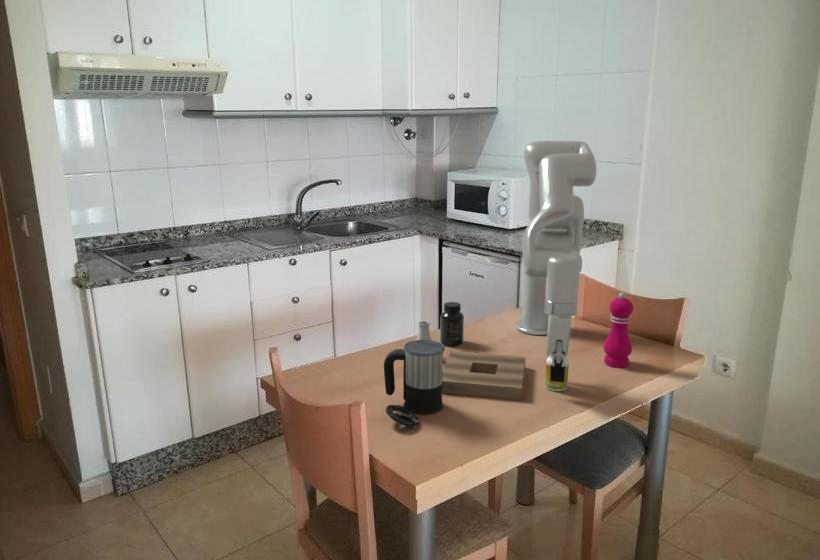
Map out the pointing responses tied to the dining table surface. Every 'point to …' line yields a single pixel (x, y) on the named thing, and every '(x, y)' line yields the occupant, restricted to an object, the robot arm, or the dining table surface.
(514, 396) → the block
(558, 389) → the supplement bottle
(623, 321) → the pepper mill
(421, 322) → the flask
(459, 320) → the supplement bottle
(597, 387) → the dining table surface
